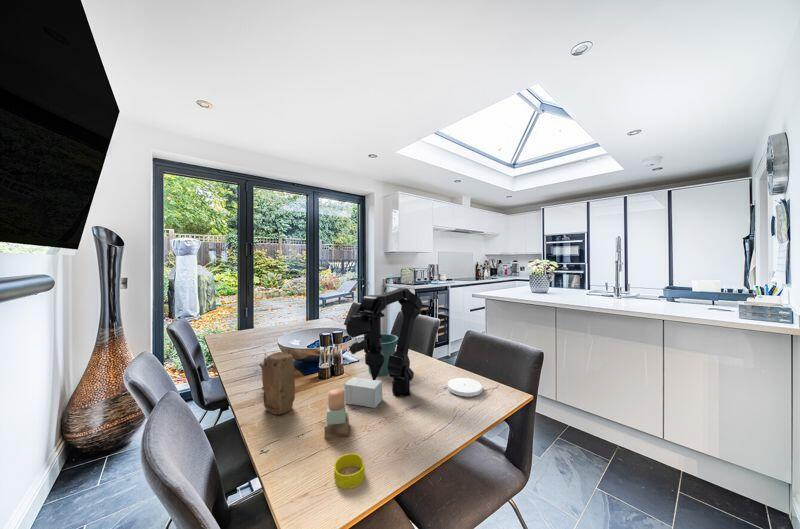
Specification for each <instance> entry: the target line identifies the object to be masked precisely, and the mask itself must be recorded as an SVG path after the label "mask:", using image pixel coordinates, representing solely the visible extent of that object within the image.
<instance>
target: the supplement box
mask: <svg viewBox="0 0 800 529" xmlns="http://www.w3.org/2000/svg"><path fill="white" fill-rule="evenodd" d="M343 388H344V389H343V390H344V398H345V404H349V405H356V406H360V407H367V408H373V409H376V407H377V406H378V405H379V404H380V403H381V402H382V400H383V381H382V380H377V379H376V380H373V379H369V378H362V377H361V378H360V377H354V376H353V377H352V378H351V379H349V380H348V381H347V382H346V383H344V387H343Z"/></svg>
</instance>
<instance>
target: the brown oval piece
mask: <svg viewBox="0 0 800 529" xmlns="http://www.w3.org/2000/svg"><path fill="white" fill-rule="evenodd" d="M344 391H345V389H342V388H332V389H331V390H329V391H328V393H327V395H328V396H327V398H328V399H327V400H328V401H327V402H328V403H327V407H328V408H329V409H330V410H340V409H342V408H344V406H345V407H346V403H345V392H344Z"/></svg>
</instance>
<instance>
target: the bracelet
mask: <svg viewBox="0 0 800 529" xmlns="http://www.w3.org/2000/svg"><path fill="white" fill-rule="evenodd" d="M363 462H364V461H363V458H362V456H361V454H358V453H354V452H351V453H347V454H342V455H341V456H339V457H338V458H337V459H336V460H335V462H334V464H333V468H334V469H333V476H334V477H333V479H334V484H335V485H337V487H340V488H342V489H352V488H357V487H358V486H359V485H360V484H361V483H363V482H364V479H365V463H363ZM346 467H347V468H348V467H357V468H359V470H357V471H356V472H355V473H352V474H341V473H339V472H340V471H341V470H342V469H345V468H346Z"/></svg>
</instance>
